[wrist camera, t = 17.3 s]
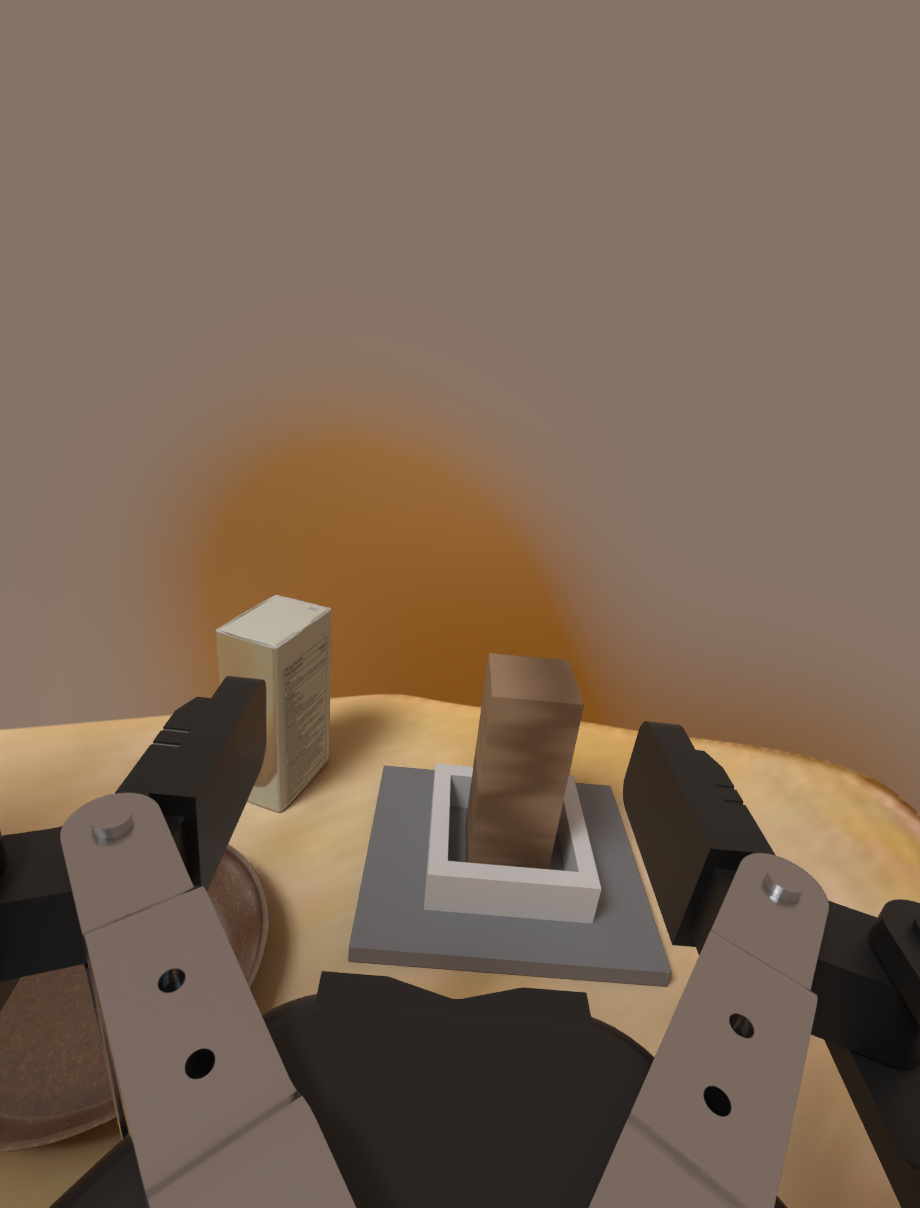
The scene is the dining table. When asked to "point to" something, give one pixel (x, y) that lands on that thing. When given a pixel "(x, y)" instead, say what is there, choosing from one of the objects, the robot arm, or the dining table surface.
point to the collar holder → (502, 890)
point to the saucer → (94, 1027)
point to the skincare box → (284, 689)
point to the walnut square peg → (521, 760)
